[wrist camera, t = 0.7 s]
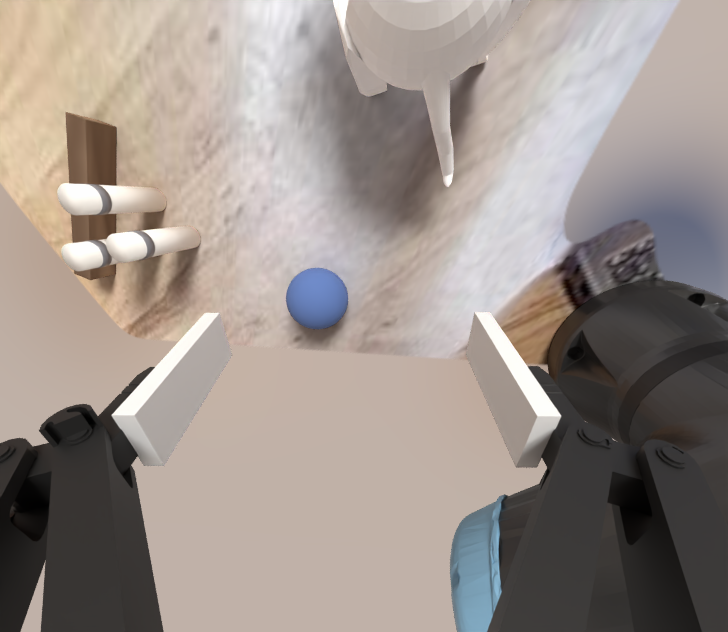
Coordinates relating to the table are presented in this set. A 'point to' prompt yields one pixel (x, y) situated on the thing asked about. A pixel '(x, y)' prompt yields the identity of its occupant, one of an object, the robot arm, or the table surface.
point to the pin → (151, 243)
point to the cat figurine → (422, 49)
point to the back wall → (91, 178)
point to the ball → (317, 298)
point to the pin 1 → (109, 199)
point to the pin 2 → (87, 255)
